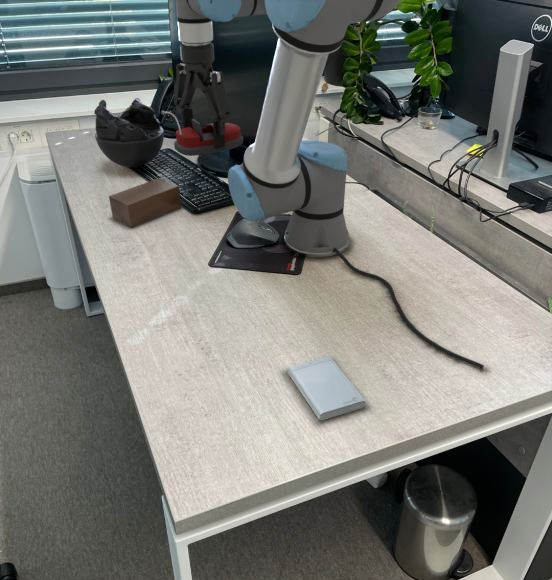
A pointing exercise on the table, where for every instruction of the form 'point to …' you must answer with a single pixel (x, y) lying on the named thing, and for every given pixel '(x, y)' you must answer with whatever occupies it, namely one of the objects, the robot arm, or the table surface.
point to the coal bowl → (129, 134)
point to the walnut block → (145, 202)
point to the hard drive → (326, 388)
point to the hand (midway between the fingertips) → (204, 141)
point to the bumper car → (204, 138)
